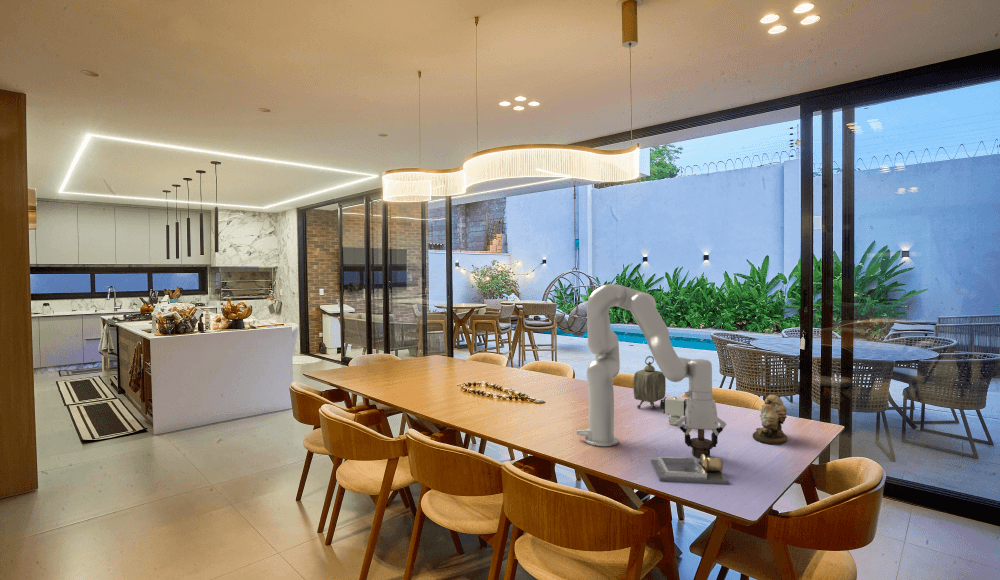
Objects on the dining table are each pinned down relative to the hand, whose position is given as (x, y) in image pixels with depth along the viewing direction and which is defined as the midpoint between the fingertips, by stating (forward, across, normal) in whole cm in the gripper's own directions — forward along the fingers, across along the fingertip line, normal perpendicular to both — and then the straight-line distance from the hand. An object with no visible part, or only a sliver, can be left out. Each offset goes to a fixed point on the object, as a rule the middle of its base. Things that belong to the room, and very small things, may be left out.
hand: (701, 445), depth 175 cm
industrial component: (+4, -1, 0) cm, 4 cm away
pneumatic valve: (+4, 0, +40) cm, 40 cm away
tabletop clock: (+4, -6, +68) cm, 68 cm away
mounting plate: (+4, -8, -17) cm, 19 cm away
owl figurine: (+4, +32, +24) cm, 40 cm away
